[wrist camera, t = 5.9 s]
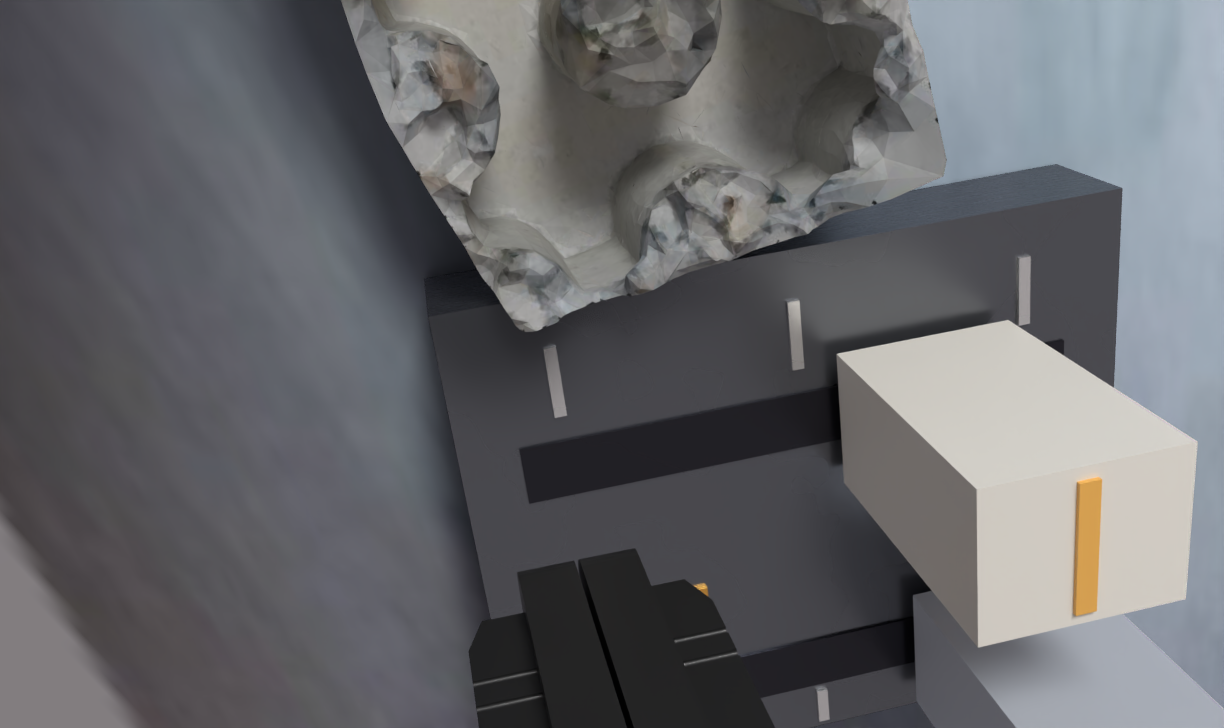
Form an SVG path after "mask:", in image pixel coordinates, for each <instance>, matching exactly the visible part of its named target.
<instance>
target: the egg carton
mask: <svg viewBox="0 0 1224 728" xmlns="http://www.w3.org/2000/svg"><path fill="white" fill-rule="evenodd" d="M341 2H342V5H343V8H344V11H345V14H346V17H347V20H348V23H349V26H350V29H351V32H352V35H353V38H354V41H355V44H356V46H357V49H358V52H359V55H360V57H361V60H362V63H363V65H364V68H365V71H366V73H367V76H368V78H369V81H370V83H371V86H372V88H373V90H374V93H375V95H376V98H377V100H378V102H379V105H380V107H381V110H382V112H383V114H384V117H385V119H386V122H387V124H388V125H389V127H390V128H391V130H392V132H393V133H394V135H395V137H396V138H397V140H398V141H399V143H400V145H401V146H402V148H403V150H404V151H405V153H406V155H407V156H408V158H409V160H410V162H411V163H412V165H413V167H414V168H415V170H416V172H417V173H418V175H419V177H420V178H421V180H422V182H423V183H424V185H425V187H426V188H427V190H428V192H429V193H430V195H431V196H432V198H433V199H434V201H435V202H436V204H437V205H438V207H439V208H440V210H441V212H442V213H443V215H444V216H445V218H446V219H447V221H448V222H449V224H450V225H451V227H452V228H453V230H454V231H455V233H456V234H457V236H458V238H459V239H460V241H461V242H462V244H463V245H464V247H465V248H466V250H467V252H468V254H469V256H470V257H471V259H472V261H473V263H474V265H475V266H476V268H477V270H478V272H479V273H480V275H481V276H482V278H483V279H484V280H485V282H486V283H487V284H488V285H489V287H490V288H491V289H492V290H493V291H494V293H495V294H496V296H497V298H498V299H499V301H500V303H501V304H502V306H503V307H504V309H505V310H506V312H507V313H508V314H509V316H510V317H511V319H512V320H513V322H514V324H515V326H516V327H517V328H519V329H520V330H521V331H523V332H533V331H538V330H540V329H543V328H545V327H548V326H550V325H552V324H555V323H557V322H558V321H559V320H560V319H561V318H562V317H563V316H564V315H566V314H568V313H570V312H572V311H575V310H577V309H580V308H583V307H586V306H588V305H591V304H594V303H597V302H599V301H603V300H606V299H610V298H614V297H617V296H621V295H625V296H633V295H638V294H642V293H645V292H649V291H652V290H654V289H656V288H658V287H660V286H661V285H663V284H665V283H666V282H668V281H670V280H672V279H674V278H676V277H679V276H681V275H683V274H686V273H688V272H692V271H695V270H698V269H701V268H705V267H708V266H712V265H715V264H719V263H724V262H728V261H731V260H733V259H735V258H737V257H740V256H742V255H744V254H746V253H749V252H751V251H753V250H756V249H759V248H762V247H766V246H769V245H772V244H775V243H778V242H782V241H785V240H788V239H791V238H794V237H798V236H802V235H806V234H809V233H810V232H811V231H812V230H813V229H814V228H816V227H818V226H820V225H821V224H822V223H824V222H825V221H827V220H828V219H829V218H832V217H834V216H837V215H840V214H842V213H846V212H850V211H854V210H858V209H862V208H866V207H870V206H873V205H876V204H879V203H882V202H884V201H887V200H890V199H893V198H895V197H897V196H900V195H902V194H904V193H906V192H909V191H911V190H913V189H915V188H918V187H920V186H922V185H924V184H927V183H929V182H931V181H933V180H936V179H938V178H940V177H942V176H944V171H945V165H946V160H947V159H946V155H945V150H944V146H943V141H942V137H941V132H940V128H939V123H938V119H937V114H936V110H935V105H934V101H933V96H932V91H931V87H930V82H929V78H928V73H927V68H926V62H925V57H924V52H923V49H922V47H921V45H920V42H919V40H918V38H917V35H916V33H915V30H914V28H913V25H912V20H911V15H910V10H909V5H908V0H341Z"/></svg>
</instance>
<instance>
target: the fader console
mask: <svg viewBox="0 0 1224 728" xmlns="http://www.w3.org/2000/svg"><path fill="white" fill-rule="evenodd" d="M1121 207H1122V188H1121V187H1118V186H1115V185H1112V184H1109V183H1107V182H1104V181H1101V180H1098V179H1096V178H1093V177H1090V176H1087V175H1085V174H1082V173H1079V172H1076V171H1074V170H1071V169H1068V168H1065V167H1063V166H1060V165H1057V164H1055V165H1050V166H1044V167H1039V168H1033V169H1028V170H1022V171H1017V172H1011V173H1006V174H1000V175H995V176H989V177H984V178H978V179H973V180H967V181H962V182H956V183H951V184H945V185H940V186H934V187H929V188H923V189H918V190H912V191H909V192H906V193H904V194H902V195H900V196H897V197H895V198H893V199H890V200H887V201H884V202H882V203H879V204H876V205H873V206H870V207H866V208H862V209H858V210H854V211H850V212H846V213H842V214H840V215H837V216H834V217H832V218H829V219H828V220H827V221H825V222H824V223H822V224H821V225H820V226H818V227H816V228H814V229H813V230H812V231H811V232H810V233H809V234H806V235H802V236H798V237H794V238H791V239H788V240H785V241H782V242H778V243H775V244H772V245H769V246H766V247H762V248H759V249H756V250H753V251H751V252H749V253H746V254H744V255H742V256H740V257H737V258H735V259H733V260H731V261H728V262H724V263H719V264H715V265H712V266H708V267H705V268H701V269H698V270H695V271H692V272H688V273H686V274H683V275H681V276H679V277H676V278H674V279H672V280H670V281H668V282H666V283H665V284H663V285H661V286H660V287H658V288H656V289H654V290H652V291H649V292H645V293H642V294H638V295H633V296H625V295H621V296H617V297H614V298H610V299H606V300H603V301H599V302H597V303H594V304H591V305H588V306H586V307H583V308H580V309H577V310H575V311H572V312H570V313H568V314H566V315H564V316H563V317H562V318H561V319H560V320H559V321H558V322H557V323H555V324H552V325H550V326H548V327H545V328H543V329H540V330H538V331H533V332H523V331H521V330H520V329H519V328H517V327H516V326H515V324H514V322H513V320H512V319H511V317H510V316H509V314H508V313H507V312H506V310H505V309H504V307H503V306H502V304H501V303H500V301H499V299H498V298H497V296H496V294H495V293H494V291H493V290H492V289H491V288H490V287H489V285H488V284H487V283H486V282H485V280H484V279H483V278H482V276H481V275H480V273H479V272H478V270H471V271H466V272H460V273H455V274H449V275H444V276H438V277H433V278H427V279H424V281H425V291H426V301H427V311H428V319H429V324H430V329H431V333H432V338H433V343H434V348H435V353H436V358H437V362H438V367H439V372H440V377H441V382H442V386H443V391H444V396H445V401H446V406H447V410H448V415H449V420H450V425H451V430H452V435H453V439H454V444H455V449H456V454H457V459H458V463H459V468H460V473H461V478H462V483H463V487H464V492H465V497H466V502H467V507H468V512H469V516H470V521H471V526H472V531H473V536H474V540H475V545H476V550H477V555H478V560H479V564H480V569H481V574H482V579H483V584H484V589H485V593H486V598H487V603H488V608H489V613H490V617H491V619H495V618H500V617H505V616H510V615H515V614H519V613H523V609H522V603H521V597H520V591H519V585H518V578H517V572H520V571H525V570H530V569H535V568H540V567H545V566H549V565H554V564H559V563H564V562H569V561H574V562H575V564H576V567H577V570H578V560H579V559H583V558H588V557H593V556H598V555H603V554H608V553H613V552H618V551H623V550H628V549H633V548H635V549H636V550H637V552H638V555H639V557H640V559H641V562H642V564H643V567H644V569H645V571H646V574H647V576H648V579H649V581H650V584H651V586H653V585H658V584H663V583H668V582H673V581H678V580H682V579H685V580H686V581H688V582H689V583H690V584H692V585H693V586H695V587H696V588H697V589H699V590H700V591H701V592H703V593H704V594H705V595H707V596H708V597H709V598H711V599H712V600H713V602H714V604H715V606H716V608H717V610H718V612H719V614H720V616H721V618H722V620H723V622H724V624H725V626H726V631H727V633H728V632H729V635H730V637H731V639H732V641H733V643H734V645H735V647H736V649H737V653H738V655H740V657H741V659H742V661H743V663H744V665H745V667H746V669H747V671H748V673H749V675H750V677H751V679H752V681H753V683H754V685H755V688H756V690H757V692H758V694H759V696H760V698H761V700H762V702H763V704H764V706H765V708H766V710H767V712H768V714H769V716H770V718H771V720H772V722H773V724H774V726H775V728H811V727H815V726H819V725H824V724H828V723H832V722H836V721H840V720H845V719H849V718H853V717H857V716H861V715H865V714H870V713H874V712H878V711H882V710H886V709H891V708H895V707H899V706H903V705H907V704H912V703H916V702H917V700H916V671H915V642H914V613H913V595H916V594H920V593H925V592H929V591H932V590H931V589H930V588H929V587H928V585H927V584H926V583H925V582H924V581H923V579H922V578H921V577H920V576H919V574H918V573H917V572H916V571H915V569H914V568H913V567H912V566H911V565H910V563H909V562H908V561H907V560H906V558H905V557H904V556H903V555H902V553H901V552H900V551H899V550H898V548H897V547H896V546H895V545H894V544H893V542H892V541H891V540H890V539H889V537H888V536H887V535H886V534H885V532H884V531H883V530H882V529H881V528H880V526H879V525H878V524H877V523H876V521H875V520H874V519H873V518H872V516H871V515H870V514H869V513H868V512H867V510H866V509H865V508H864V507H863V505H862V504H861V503H860V502H859V500H858V499H857V498H856V497H855V496H854V494H853V493H852V492H851V491H850V489H849V488H848V487H847V486H846V484H845V483H844V473H843V456H842V439H841V423H840V406H839V389H838V373H837V356H836V354H839V353H844V352H849V351H854V350H859V349H864V348H869V347H874V346H879V345H884V344H889V343H894V342H899V341H904V340H909V339H914V338H919V337H925V336H930V335H935V334H940V333H945V332H950V331H955V330H960V329H965V328H970V327H975V326H980V325H985V324H990V323H995V322H1000V321H1005V320H1009V321H1011V322H1012V323H1014V324H1015V325H1017V326H1018V327H1020V328H1022V329H1023V330H1025V331H1026V332H1028V333H1029V334H1031V335H1032V336H1034V337H1036V338H1037V339H1039V340H1040V341H1042V342H1043V343H1045V344H1046V345H1048V346H1050V347H1051V348H1053V349H1054V350H1056V351H1057V352H1059V353H1060V354H1062V355H1064V356H1065V357H1067V358H1068V359H1070V360H1071V361H1073V362H1074V363H1076V364H1078V365H1079V366H1081V367H1082V368H1084V369H1085V370H1087V371H1088V372H1090V373H1092V374H1093V375H1095V376H1096V377H1098V378H1099V379H1101V380H1102V381H1104V382H1106V383H1107V384H1109V385H1110V386H1112V387H1113V388H1114V369H1115V346H1116V323H1117V300H1118V277H1119V254H1120V231H1121ZM578 573H579V571H578Z"/></svg>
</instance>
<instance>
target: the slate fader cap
mask: <svg viewBox="0 0 1224 728" xmlns="http://www.w3.org/2000/svg"><path fill="white" fill-rule="evenodd" d="M913 613H914V642H915V671H916V700H917V703H918V704H919V706H920V707H921V709H922V710H923V711H924V713H925V714H926V716H927V717H928V719H929V720H930V722H931V723H932V725H933V726H934V728H1224V708H1223V707H1221V706H1220V705H1219V704H1218V703H1217V702H1216V701H1215V700H1214V699H1213V698H1212V697H1211V696H1210V695H1209V694H1208V693H1207V692H1206V691H1205V690H1203V689H1202V688H1201V687H1200V686H1199V685H1198V684H1197V683H1196V682H1195V681H1194V680H1193V679H1192V678H1191V677H1190V676H1189V675H1188V674H1186V673H1185V672H1184V671H1183V670H1182V669H1181V668H1180V667H1179V666H1178V665H1177V664H1176V663H1175V662H1174V661H1173V660H1172V659H1171V658H1169V657H1168V656H1167V655H1166V654H1165V653H1164V652H1163V651H1162V650H1161V649H1160V648H1159V647H1158V646H1157V645H1156V644H1155V643H1154V642H1153V641H1151V640H1150V639H1149V638H1148V637H1147V636H1146V635H1145V634H1144V633H1143V632H1142V631H1141V630H1140V629H1139V628H1138V627H1137V626H1136V625H1134V624H1133V623H1132V622H1131V621H1130V620H1129V619H1128V618H1127V617H1126V616H1125V615H1124V614H1120V615H1116V616H1111V617H1107V618H1103V619H1099V620H1094V621H1090V622H1086V623H1082V624H1077V625H1073V626H1069V627H1064V628H1060V629H1056V630H1052V631H1047V632H1043V633H1039V634H1034V635H1030V636H1026V637H1022V638H1017V639H1013V640H1009V641H1005V642H1000V643H996V644H992V645H987V646H983V647H979V648H978V647H977V646H976V645H975V643H974V642H973V641H972V640H971V638H970V637H969V636H968V635H967V633H966V632H965V631H964V630H963V629H962V627H961V626H960V625H959V624H958V622H957V621H956V620H955V619H954V617H953V616H952V615H951V614H950V613H949V611H948V610H947V609H946V608H945V606H944V605H943V604H942V603H941V601H940V600H939V599H938V598H937V597H936V595H935V594H934V593H933V592H932V591H929V592H925V593H920V594H916V595H913Z"/></svg>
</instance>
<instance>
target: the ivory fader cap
mask: <svg viewBox="0 0 1224 728" xmlns="http://www.w3.org/2000/svg"><path fill="white" fill-rule="evenodd" d="M836 356H837V373H838V389H839V406H840V423H841V439H842V456H843V473H844V483H845V484H846V486H847V487H848V488H849V489H850V491H851V492H852V493H853V494H854V496H855V497H856V498H857V499H858V500H859V502H860V503H861V504H862V505H863V507H864V508H865V509H866V510H867V512H868V513H869V514H870V515H871V516H872V518H873V519H874V520H875V521H876V523H877V524H878V525H879V526H880V528H881V529H882V530H883V531H884V532H885V534H886V535H887V536H888V537H889V539H890V540H891V541H892V542H893V544H894V545H895V546H896V547H897V548H898V550H899V551H900V552H901V553H902V555H903V556H904V557H905V558H906V560H907V561H908V562H909V563H910V565H911V566H912V567H913V568H914V569H915V571H916V572H917V573H918V574H919V576H920V577H921V578H922V579H923V581H924V582H925V583H926V584H927V585H928V587H929V588H930V589H931V590H932V592H933V593H934V594H935V595H936V597H937V598H938V599H939V600H940V601H941V603H942V604H943V605H944V606H945V608H946V609H947V610H948V611H949V613H950V614H951V615H952V616H953V617H954V619H955V620H956V621H957V622H958V624H959V625H960V626H961V627H962V629H963V630H964V631H965V632H966V633H967V635H968V636H969V637H970V638H971V640H972V641H973V642H974V643H975V645H976V646H977V647H978V648H979V647H983V646H987V645H992V644H996V643H1000V642H1005V641H1009V640H1013V639H1017V638H1022V637H1026V636H1030V635H1034V634H1039V633H1043V632H1047V631H1052V630H1056V629H1060V628H1064V627H1069V626H1073V625H1077V624H1082V623H1086V622H1090V621H1094V620H1099V619H1103V618H1107V617H1111V616H1116V615H1120V614H1124V613H1129V612H1133V611H1137V610H1141V609H1146V608H1150V607H1154V606H1158V605H1163V604H1167V603H1171V602H1176V601H1180V600H1184V599H1186V588H1187V575H1188V561H1189V548H1190V535H1191V522H1192V509H1193V496H1194V483H1195V469H1196V456H1197V443H1198V442H1197V441H1196V440H1194V439H1193V438H1191V437H1190V436H1188V435H1186V434H1185V433H1183V432H1182V431H1180V430H1179V429H1177V428H1176V427H1174V426H1172V425H1171V424H1169V423H1168V422H1166V421H1165V420H1163V419H1162V418H1160V417H1158V416H1157V415H1155V414H1154V413H1152V412H1151V411H1149V410H1148V409H1146V408H1144V407H1143V406H1141V405H1140V404H1138V403H1137V402H1135V401H1134V400H1132V399H1130V398H1129V397H1127V396H1126V395H1124V394H1123V393H1121V392H1120V391H1118V390H1116V389H1115V388H1113V387H1112V386H1110V385H1109V384H1107V383H1106V382H1104V381H1102V380H1101V379H1099V378H1098V377H1096V376H1095V375H1093V374H1092V373H1090V372H1088V371H1087V370H1085V369H1084V368H1082V367H1081V366H1079V365H1078V364H1076V363H1074V362H1073V361H1071V360H1070V359H1068V358H1067V357H1065V356H1064V355H1062V354H1060V353H1059V352H1057V351H1056V350H1054V349H1053V348H1051V347H1050V346H1048V345H1046V344H1045V343H1043V342H1042V341H1040V340H1039V339H1037V338H1036V337H1034V336H1032V335H1031V334H1029V333H1028V332H1026V331H1025V330H1023V329H1022V328H1020V327H1018V326H1017V325H1015V324H1014V323H1012V322H1011V321H1009V320H1005V321H1000V322H995V323H990V324H985V325H980V326H975V327H970V328H965V329H960V330H955V331H950V332H945V333H940V334H935V335H930V336H925V337H919V338H914V339H909V340H904V341H899V342H894V343H889V344H884V345H879V346H874V347H869V348H864V349H859V350H854V351H849V352H844V353H839V354H836Z"/></svg>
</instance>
